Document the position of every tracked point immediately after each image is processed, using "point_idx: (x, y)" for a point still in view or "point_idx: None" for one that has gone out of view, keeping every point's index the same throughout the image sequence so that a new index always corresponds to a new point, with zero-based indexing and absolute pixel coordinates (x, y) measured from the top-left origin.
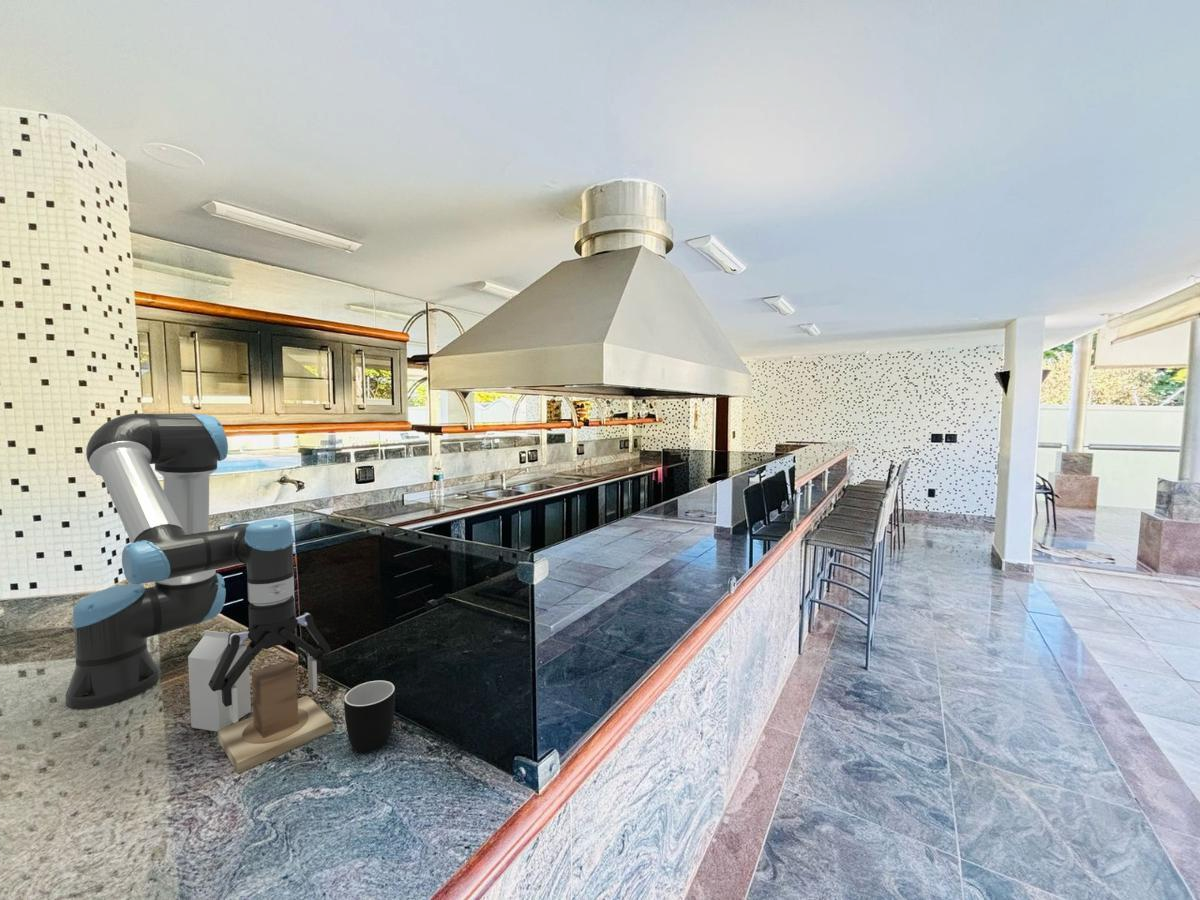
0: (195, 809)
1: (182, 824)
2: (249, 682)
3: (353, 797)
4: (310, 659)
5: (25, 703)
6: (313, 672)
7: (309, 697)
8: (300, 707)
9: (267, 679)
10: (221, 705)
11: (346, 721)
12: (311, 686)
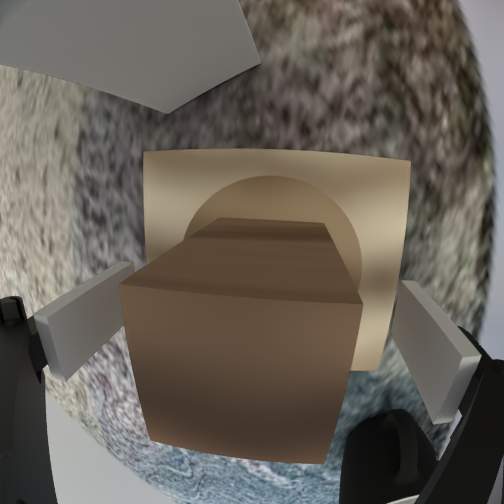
0: (107, 364)
1: (95, 377)
2: (242, 20)
3: (282, 493)
4: (451, 392)
5: None
6: (417, 385)
7: (409, 182)
8: (363, 223)
9: (179, 440)
10: (139, 94)
11: (342, 486)
12: (399, 321)
